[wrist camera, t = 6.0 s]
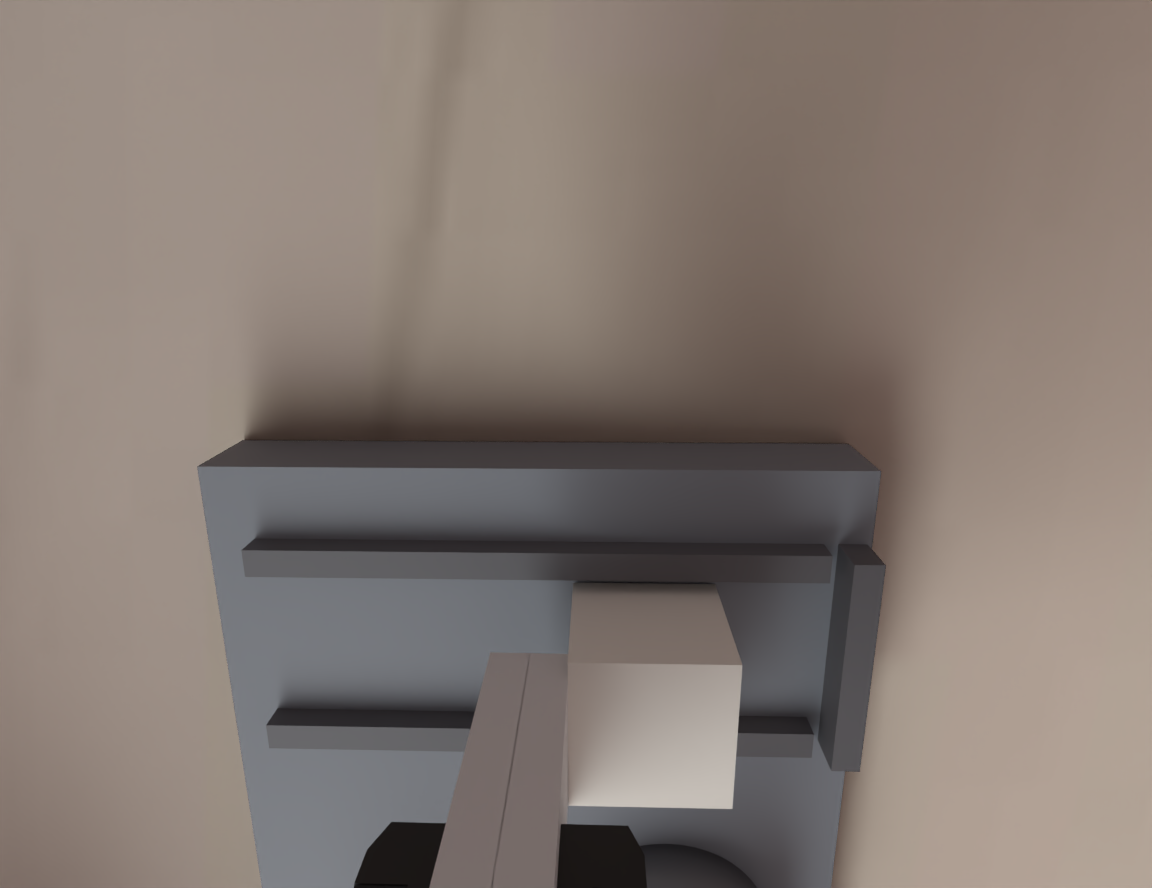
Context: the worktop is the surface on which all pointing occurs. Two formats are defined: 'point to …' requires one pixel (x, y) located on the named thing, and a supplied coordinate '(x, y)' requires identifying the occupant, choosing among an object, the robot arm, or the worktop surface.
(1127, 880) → the worktop surface
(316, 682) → the console
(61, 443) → the worktop surface
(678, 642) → the slider knob
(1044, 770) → the worktop surface
